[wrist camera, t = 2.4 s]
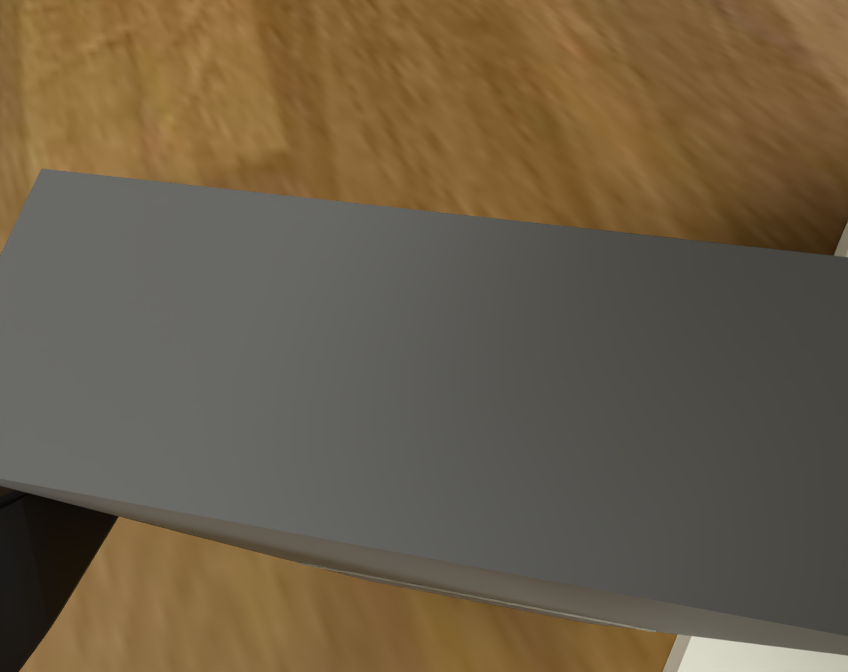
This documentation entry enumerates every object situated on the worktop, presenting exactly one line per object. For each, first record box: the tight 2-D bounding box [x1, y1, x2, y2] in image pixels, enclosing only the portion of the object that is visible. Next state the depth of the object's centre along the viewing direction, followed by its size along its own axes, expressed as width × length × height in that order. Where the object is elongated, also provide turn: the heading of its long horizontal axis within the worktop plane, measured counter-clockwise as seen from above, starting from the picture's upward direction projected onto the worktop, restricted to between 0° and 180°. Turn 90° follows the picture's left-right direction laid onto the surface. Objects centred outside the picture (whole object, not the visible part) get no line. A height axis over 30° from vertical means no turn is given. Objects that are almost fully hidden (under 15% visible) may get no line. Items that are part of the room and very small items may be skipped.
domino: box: [0, 169, 848, 656], centre depth 9 cm, size 2×5×13 cm, turn 79°
